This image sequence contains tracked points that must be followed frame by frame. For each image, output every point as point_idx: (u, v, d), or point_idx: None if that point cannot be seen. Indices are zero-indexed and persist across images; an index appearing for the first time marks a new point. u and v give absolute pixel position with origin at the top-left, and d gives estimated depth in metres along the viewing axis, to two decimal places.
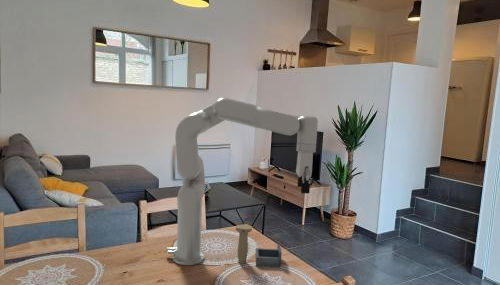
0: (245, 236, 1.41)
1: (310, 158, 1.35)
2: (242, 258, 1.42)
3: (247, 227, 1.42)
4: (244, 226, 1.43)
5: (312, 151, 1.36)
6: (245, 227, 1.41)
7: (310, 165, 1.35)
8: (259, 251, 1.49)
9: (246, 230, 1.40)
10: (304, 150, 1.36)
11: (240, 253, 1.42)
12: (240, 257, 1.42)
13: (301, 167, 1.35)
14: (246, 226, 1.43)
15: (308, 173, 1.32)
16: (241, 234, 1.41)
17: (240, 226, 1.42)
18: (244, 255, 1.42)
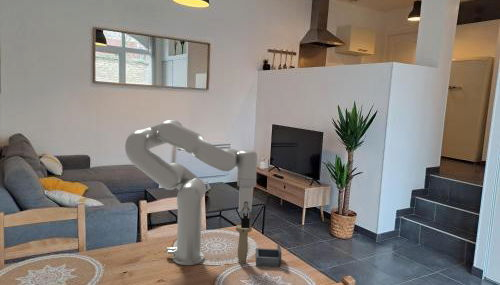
0: (245, 236, 1.41)
1: (249, 193, 1.36)
2: (242, 258, 1.42)
3: None
4: None
5: (251, 186, 1.37)
6: None
7: (250, 200, 1.36)
8: (259, 251, 1.49)
9: (246, 230, 1.40)
10: (243, 185, 1.37)
11: (240, 253, 1.42)
12: (240, 257, 1.42)
13: (240, 202, 1.36)
14: None
15: (246, 209, 1.33)
16: (241, 234, 1.41)
17: (240, 226, 1.42)
18: (244, 255, 1.42)
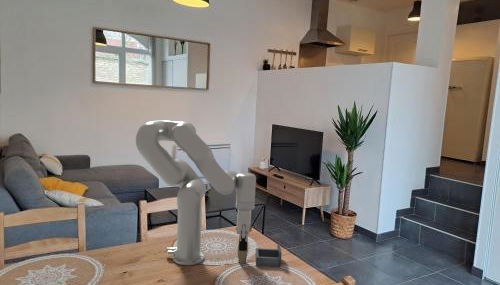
0: None
1: (247, 216, 1.37)
2: (242, 258, 1.42)
3: None
4: None
5: (250, 209, 1.38)
6: None
7: (248, 223, 1.37)
8: (259, 251, 1.49)
9: None
10: (241, 208, 1.38)
11: (240, 253, 1.42)
12: (240, 257, 1.42)
13: (238, 225, 1.37)
14: None
15: (243, 236, 1.36)
16: None
17: None
18: (244, 255, 1.42)
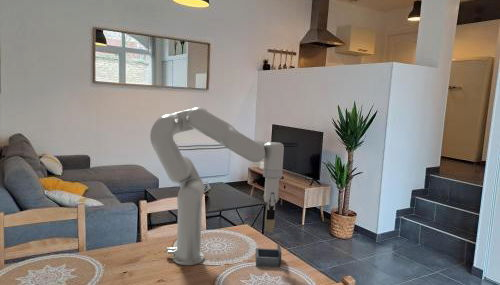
0: None
1: (276, 184, 1.38)
2: (270, 227, 1.42)
3: None
4: None
5: (278, 177, 1.39)
6: None
7: (276, 191, 1.38)
8: (259, 251, 1.49)
9: None
10: (270, 176, 1.38)
11: (268, 222, 1.42)
12: (268, 226, 1.43)
13: (267, 193, 1.38)
14: None
15: (272, 204, 1.36)
16: None
17: None
18: (272, 224, 1.42)
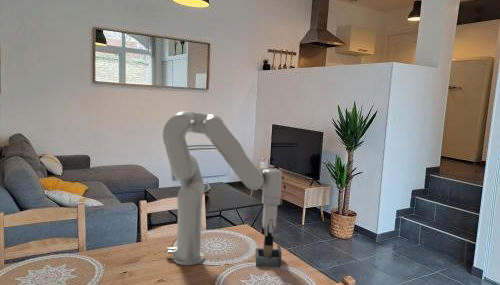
0: None
1: (274, 211, 1.39)
2: (268, 253, 1.44)
3: None
4: None
5: (276, 204, 1.40)
6: None
7: (274, 218, 1.39)
8: (259, 251, 1.49)
9: None
10: (268, 203, 1.39)
11: (266, 248, 1.44)
12: (266, 252, 1.44)
13: (265, 220, 1.39)
14: None
15: (270, 231, 1.38)
16: None
17: None
18: (270, 249, 1.44)
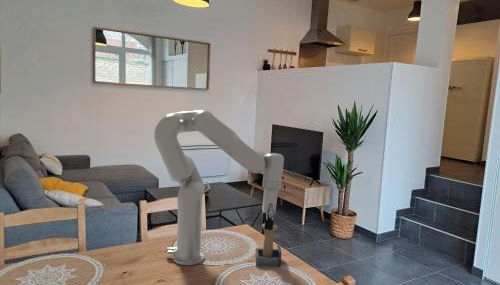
0: (271, 235, 1.43)
1: (274, 195, 1.38)
2: (267, 256, 1.44)
3: (273, 225, 1.44)
4: None
5: (277, 188, 1.39)
6: None
7: (274, 202, 1.38)
8: (259, 251, 1.49)
9: (272, 229, 1.42)
10: (269, 187, 1.39)
11: (266, 251, 1.44)
12: (266, 255, 1.44)
13: (265, 204, 1.38)
14: None
15: (271, 211, 1.35)
16: (267, 232, 1.43)
17: None
18: (270, 253, 1.44)
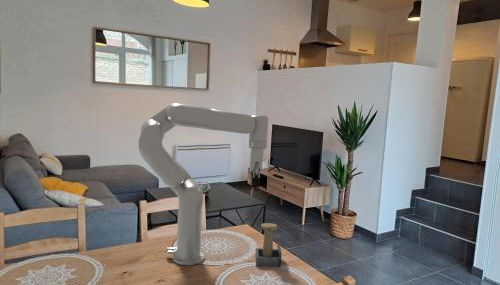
0: (270, 234, 1.43)
1: (260, 154, 1.44)
2: (267, 256, 1.44)
3: (272, 225, 1.44)
4: (269, 224, 1.45)
5: (262, 148, 1.45)
6: (270, 226, 1.44)
7: (260, 160, 1.44)
8: (259, 251, 1.49)
9: (272, 228, 1.42)
10: (255, 147, 1.45)
11: (265, 251, 1.44)
12: (265, 255, 1.44)
13: (252, 163, 1.44)
14: (271, 224, 1.45)
15: (257, 168, 1.41)
16: (266, 232, 1.43)
17: (265, 224, 1.45)
18: (269, 253, 1.44)
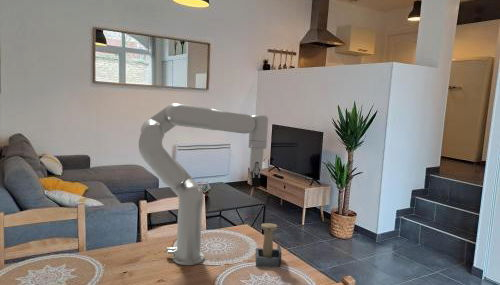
0: (270, 234, 1.43)
1: (260, 154, 1.44)
2: (267, 256, 1.44)
3: (273, 225, 1.44)
4: (269, 224, 1.45)
5: (262, 148, 1.45)
6: (270, 226, 1.44)
7: (260, 160, 1.44)
8: (259, 251, 1.49)
9: (272, 228, 1.42)
10: (254, 147, 1.45)
11: (265, 251, 1.44)
12: (265, 255, 1.44)
13: (251, 162, 1.44)
14: (271, 224, 1.45)
15: (257, 168, 1.41)
16: (266, 232, 1.43)
17: (265, 224, 1.45)
18: (269, 253, 1.44)
